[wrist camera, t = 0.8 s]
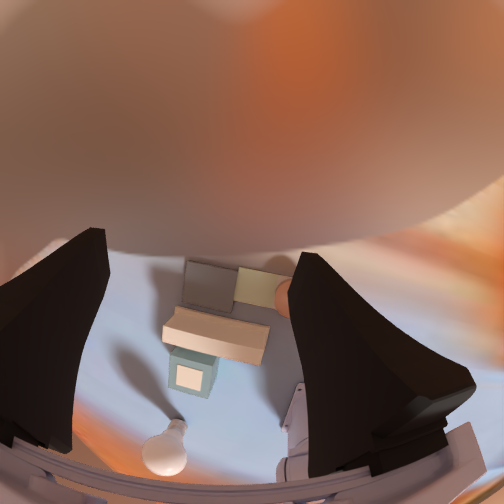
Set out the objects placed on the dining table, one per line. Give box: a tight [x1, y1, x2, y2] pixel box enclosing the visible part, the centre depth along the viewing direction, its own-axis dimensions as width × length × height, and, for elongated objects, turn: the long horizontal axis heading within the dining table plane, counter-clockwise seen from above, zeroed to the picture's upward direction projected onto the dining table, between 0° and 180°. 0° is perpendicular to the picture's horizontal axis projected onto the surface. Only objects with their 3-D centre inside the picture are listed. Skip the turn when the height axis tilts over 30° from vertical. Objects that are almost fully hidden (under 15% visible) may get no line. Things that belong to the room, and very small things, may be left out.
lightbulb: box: [141, 419, 187, 476], centre depth 31 cm, size 6×6×11 cm
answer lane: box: [233, 267, 293, 309], centre depth 31 cm, size 4×10×1 cm, turn 79°
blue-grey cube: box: [168, 346, 220, 399], centre depth 32 cm, size 5×5×5 cm
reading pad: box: [182, 260, 238, 313], centre depth 32 cm, size 5×6×1 cm
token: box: [274, 279, 292, 318], centre depth 30 cm, size 4×4×2 cm
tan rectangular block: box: [162, 306, 270, 366], centre depth 31 cm, size 3×12×5 cm, turn 80°
